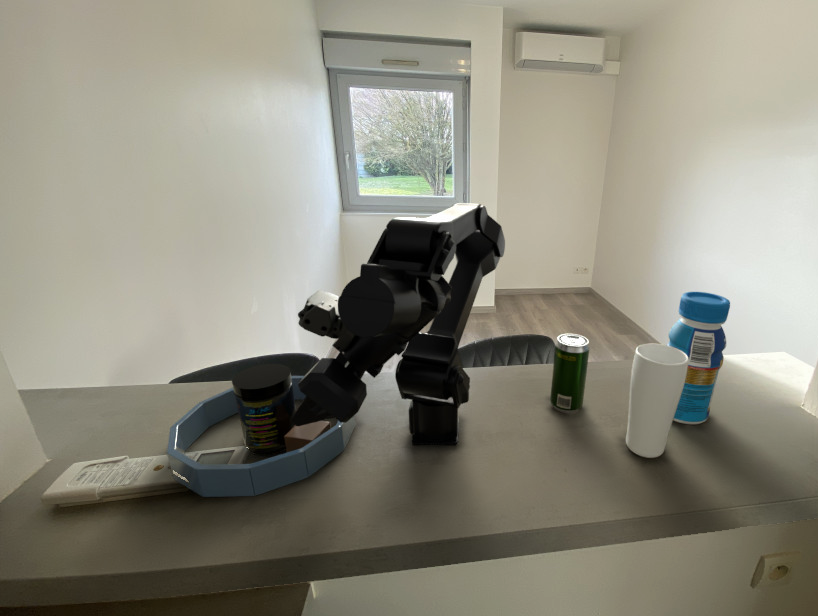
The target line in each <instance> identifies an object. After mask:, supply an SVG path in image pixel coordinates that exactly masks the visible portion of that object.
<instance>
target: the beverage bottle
mask: <svg viewBox="0 0 818 616" xmlns="http://www.w3.org/2000/svg"><path fill="white" fill-rule="evenodd" d="M730 309H731V301H730V299H728V298H726V297H724V296H722V295H719V294H716V293H711V292H706V291H686V292H684V293H682V295H681V297H680V300H679V306H678V316H679V319H678V320H677V321H675V322H674V324H673V325H672V327H671V328H670V330H669V331H668V339H669V341H668V342H667V343H666V345H668V346H671V347H674V348H677V349H679V350H681V351H683V352H684V353H685V354H686V355H687V356H688V358H689V362H688V368H687V374H686V379H685V384H684V387H683V391H682V394H681V397H680V400H679V403H678V406H677V409H676V412H675V415H674V419H673V421H674V422H676V423H679V424H685V425H700V424H702V423H704V422H706V421H707V420H708V419H709V415H710V412H711V404H712V400H713V396H714V392H715V388H716V384H717V380H718V376H719V372H720V369H721V368H722V367H723V364H724V360H725V359H724V353H723V351H724V350H726V347H727V337H726V333H725V330H724V328H723V326H722V325H724V324H726V322H727V320H728V317H729V312H730Z"/></svg>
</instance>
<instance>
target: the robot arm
mask: <svg viewBox="0 0 818 616" xmlns="http://www.w3.org/2000/svg"><path fill="white" fill-rule="evenodd" d="M505 249H506V238H505V234H504V232H503V227H502V225H501V224H500V223H499V222H497V221H496V220H495V219H494V218H493V217H492V216H491V215H489V214H488V210H487V207H486V206H485V205H482V204H481V203H470V202H456V203H453V204H452V205H451V206H450V207H448V208H446V209H444V210H442V211H440V212H437V213H436V214H433V215H431V216H428V217H425V218H419V217H417V218H416V217H393V218H392V219H391V220H389V221H388V223H386V226H385V228H384V230H382V233H381V235H380V236H379V239H378V240H377V242H376V244H375V246H374V248H373V250H372V252H371V254H370V256H369V258H368V260H367V262H366V263H361V264H360V270H359V271H360V273H359V276H357V277H355V278H353V279H351V280H350V281H349V282H347V283H346V285H345V286H344V288H343V289H342V291H341V293H340V296H339V295H336V294H335V293H332V292H330V291H326V290H322V289H321V290H317V291H316V292H315V293H313V294H312V295H310V296H309V297H308V298H307V299H306V302H305V304H304V307H303V309H302V310H300V311H299V312H298V313H297V317H298V319H299V320H298V326H299V327H301V328H302V329H303V330H305V331H307V332H310V333H312V334H314V335H317V336H319V337H322V338H323V337H328V338H330V339H333V340H334V339H335V341H334V343H333V344H332V347H333V348H334V349H336V350H337V351H338V354H337V356H336V357H321V358H320V359H319V360H318V361H317V362H316V363H315V364H314V365H313V367H311V369H309V370H308V372H306V374H305V375H303V376H304V378H303V379H302V380H301V381H300V382H299V383H298V387H299V390H300V391H301V392H302V393H303V394H305V395H306V397H305V398H304V399H302V401H301V403H300V404H299V406H298V408H296V412H295V414H294V415H293V417H292V418H291V420H290V421H291V423H293V424H294V425H296V426H302V425H306V424H310V423H314V422H318V421H326V420H332V419H335V420H336V421H337V422H338V421H339V422H348V421H349V420H350V419H351V418H352V417H353V416H354V417H355V415H357V414H358V413H359V411H360V410H361V407H362V405H363V404H364V402H365V399H366V398H367V396H368V391H367V389H368V388H367V383H365V382H364V381H363V380H362V378H363V376H364V375H365V373H367V374H369V375H370V376H371V377H372V378H373V379H374V378H376V377H377V376H378V375H379V374H380V373H381V371H382V370H383V368H384V366H385V364H386V363H387V362H389V361H390V360H391V359H392V358H393V357H394V356H395V355H396V356H398V357H399V356H400V355H401V359H400V360H399V361H398V363H397V364H396V368H395V377H394V378H395V382H396V385H397V388H398V392H399V395H400V397H401V399H402V400H411V401H410V403H409V408H408V428H409V430H408V431H409V434H410V435H412V437H411V445H412V446H413V447H415V446H416V447H417V446H422V447H423V446H425V447H426V446H457V445H458V444H459V432H460V431H459V430H460V429H459V428H460V417H459V408H460V406H461V405H464V404H466V403H468V402H469V401H470V389H471V385H470V382H471V378H470V376H469V375H468V373H467V372H466V371H465V370H464V363H463V360H462V357H461V354H460V351H459V347H460V343H461V341H462V338H463V334H464V332H465V329H466V326H467V324H468V321H469V317H470V314H471V312H472V309H473V307H474V304H475V301H476V297H477V295H478V292H479V288H480V287H481V283H482V281H483V278H484V277H486V276H487V275H488V274H490V273H492V272H493V271H495V270H496V269H497V266H498V264H499V262H500V260H501V258H503V257H504V254H505V251H506V250H505ZM454 258H455V261H456V264H455V267H454V269H453V271H452V273H451V276H450V278H449V281H447V280H446V279H445V277H444V275H445V274H446V272H447V270H448V268H449V266H450V264H451V262H452V261H453V260H454ZM429 323H431V324H430V326H429V328H428V330H427V331H426V332H425V333H424V332H421V331H422V330H423V329H424V328H426V327H427V326H428V325H429Z"/></svg>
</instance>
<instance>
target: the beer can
mask: <svg viewBox="0 0 818 616" xmlns="http://www.w3.org/2000/svg"><path fill="white" fill-rule="evenodd" d="M589 355H590V340H589V339H588V338H587V337H586V336H583V335H581V334H577V333H563V334H559V335H558V336H557V339H556V342H555V344H554V355H553V367H552V378H551V387H550V388H551V389H550V397H549V398H550V404H551V407H552V408H553V409H554V410H556V412H560V413H563V414H574V413H575V414H576V413H578V412H579V411H580V410H581V408H582V407H583V404H584V397H585V389H586V382H587V379H586V378H587V372H588V365H589V364H588V363H589V357H590V356H589Z"/></svg>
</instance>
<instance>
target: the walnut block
mask: <svg viewBox="0 0 818 616" xmlns="http://www.w3.org/2000/svg"><path fill="white" fill-rule="evenodd" d="M331 428H332V427H331V422H330V421H326V420H322V421H318V422H314V423H310V424H306V425H302V426H294V427H293V428H292V429H291V430H290V431H289V432H288V433H287V434H286V435H285V436H284V439H285V444H286V449H285V451H286V453H287V452H291V451H294V450H297V449H300V448H303V447H304V446H306V445H307V444H309V443H310V442H312V441H313V440H315V439H316V438H318V437H319V436H321V435H322V434H324V433H325V432H327V431H328V430H330V429H331Z"/></svg>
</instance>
